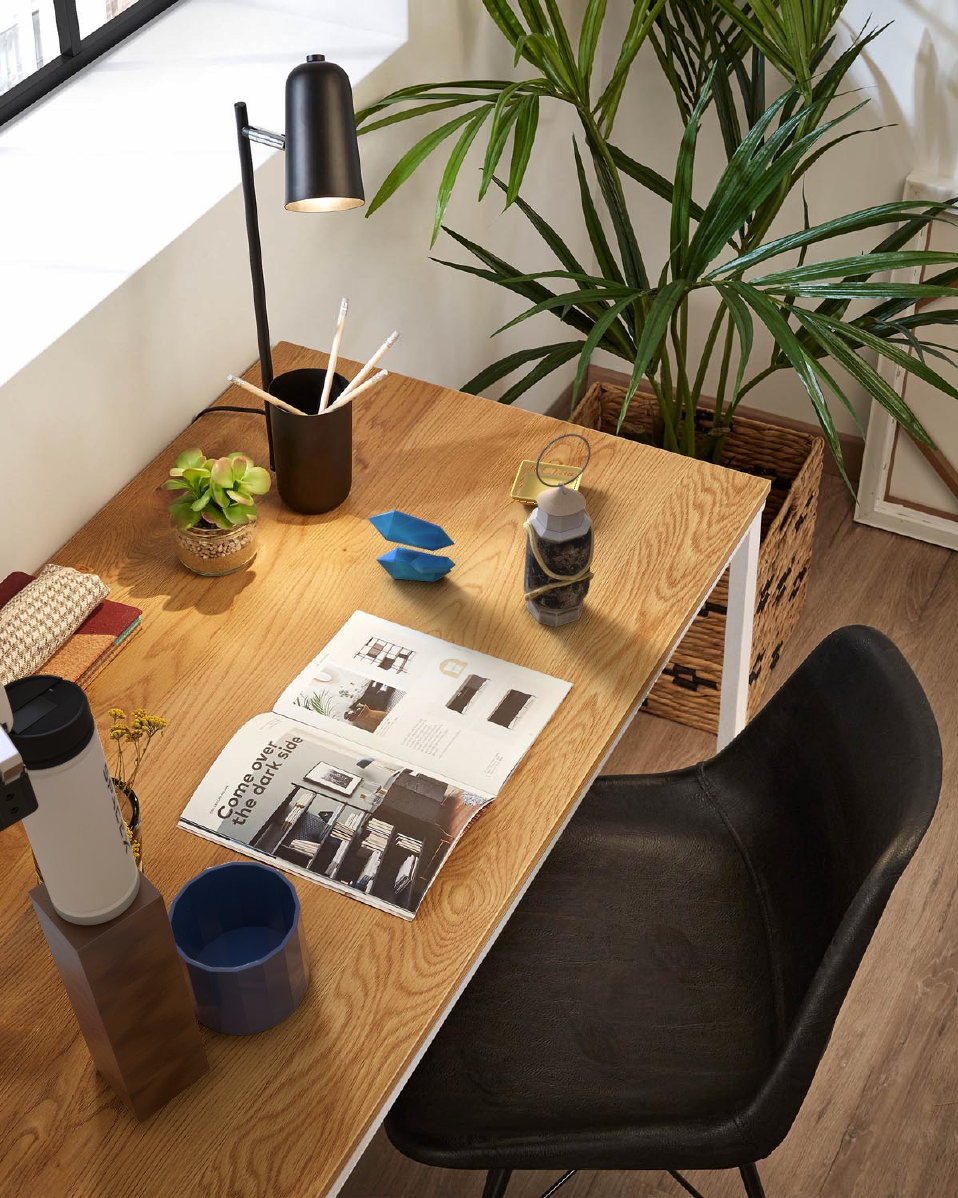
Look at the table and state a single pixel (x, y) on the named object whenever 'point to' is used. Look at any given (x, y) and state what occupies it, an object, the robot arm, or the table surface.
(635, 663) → the table surface
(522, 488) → the yellow basket
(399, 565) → the blue crystals
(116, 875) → the travel mug
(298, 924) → the crock
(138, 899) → the plinth
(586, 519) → the lantern
